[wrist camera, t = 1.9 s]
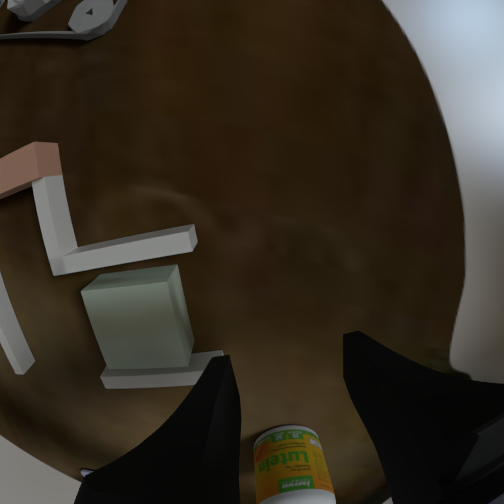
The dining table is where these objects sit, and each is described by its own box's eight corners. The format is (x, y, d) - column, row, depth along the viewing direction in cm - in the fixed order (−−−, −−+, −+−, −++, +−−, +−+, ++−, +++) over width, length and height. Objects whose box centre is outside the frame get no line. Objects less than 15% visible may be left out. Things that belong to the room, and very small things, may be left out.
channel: (225, 362, 19) (224, 381, 17) (32, 370, 19) (21, 384, 17) (179, 142, 15) (171, 138, 13) (-23, 209, 15) (-40, 214, 13)
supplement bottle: (304, 413, 20) (332, 522, 11) (326, 446, 22) (353, 538, 12) (240, 437, 21) (244, 542, 12) (270, 467, 22) (280, 557, 13)
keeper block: (194, 338, 19) (188, 366, 16) (123, 343, 19) (108, 369, 16) (178, 263, 17) (166, 281, 14) (102, 272, 17) (80, 291, 14)
